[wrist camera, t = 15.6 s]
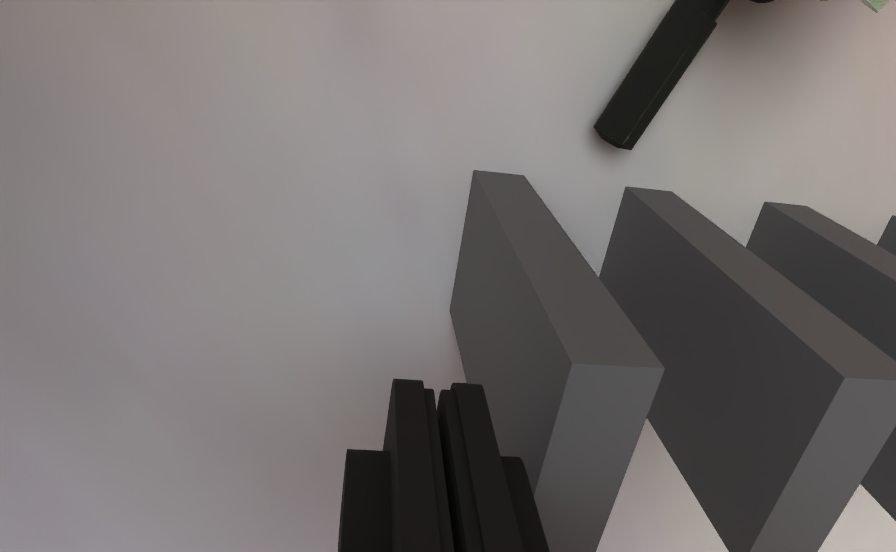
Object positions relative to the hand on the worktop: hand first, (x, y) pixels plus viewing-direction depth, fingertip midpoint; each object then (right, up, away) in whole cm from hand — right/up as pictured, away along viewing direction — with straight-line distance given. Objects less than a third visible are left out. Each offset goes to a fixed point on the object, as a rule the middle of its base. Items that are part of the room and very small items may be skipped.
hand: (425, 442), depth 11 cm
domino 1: (+2, +4, +8) cm, 9 cm away
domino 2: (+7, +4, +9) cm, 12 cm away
